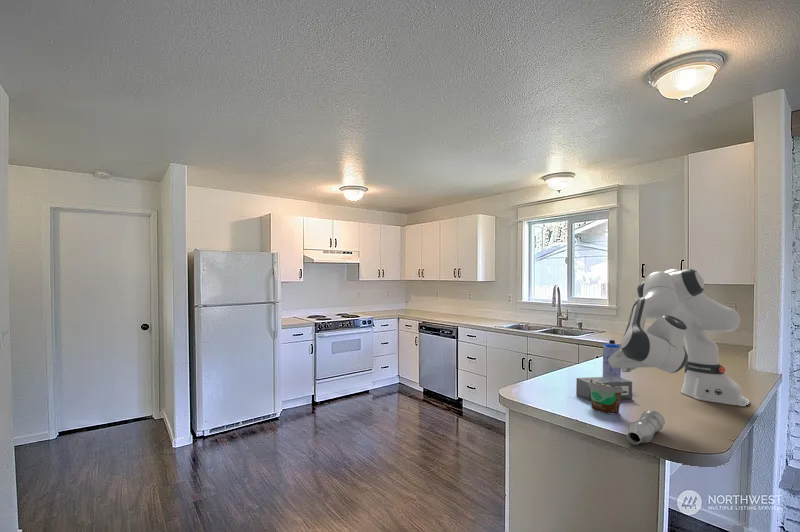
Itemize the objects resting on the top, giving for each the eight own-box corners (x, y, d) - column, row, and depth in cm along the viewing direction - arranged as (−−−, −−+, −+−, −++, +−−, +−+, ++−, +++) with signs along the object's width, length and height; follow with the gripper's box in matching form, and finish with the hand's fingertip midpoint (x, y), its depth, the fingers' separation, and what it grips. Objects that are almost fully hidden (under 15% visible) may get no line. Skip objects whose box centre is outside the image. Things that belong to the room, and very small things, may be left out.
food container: (581, 407, 149) (581, 380, 149) (590, 404, 152) (590, 378, 152) (614, 417, 139) (614, 389, 139) (622, 414, 142) (623, 386, 142)
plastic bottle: (640, 409, 132) (617, 427, 119) (662, 407, 127) (641, 426, 114) (648, 428, 131) (625, 449, 118) (670, 428, 126) (649, 449, 113)
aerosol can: (622, 386, 179) (623, 342, 179) (603, 383, 182) (603, 340, 182) (619, 381, 186) (620, 339, 187) (601, 379, 189) (601, 338, 189)
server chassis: (617, 392, 168) (617, 376, 168) (632, 399, 160) (633, 381, 160) (576, 394, 164) (576, 377, 164) (590, 401, 156) (590, 383, 156)
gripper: (626, 357, 132) (605, 378, 142) (676, 356, 137) (652, 377, 146) (617, 342, 137) (596, 363, 146) (665, 341, 141) (642, 362, 151)
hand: (625, 370), depth 146 cm, fingers closed
